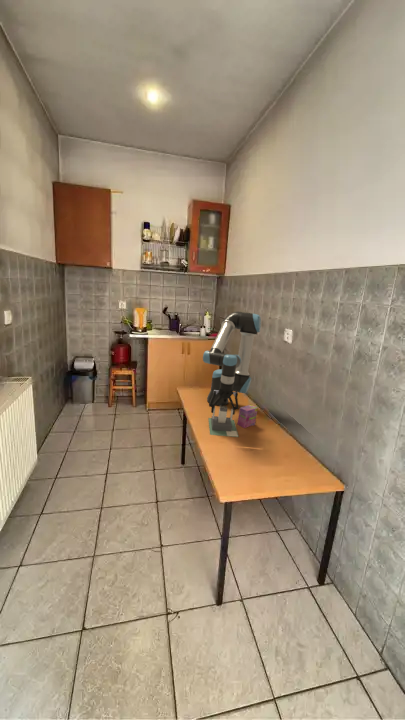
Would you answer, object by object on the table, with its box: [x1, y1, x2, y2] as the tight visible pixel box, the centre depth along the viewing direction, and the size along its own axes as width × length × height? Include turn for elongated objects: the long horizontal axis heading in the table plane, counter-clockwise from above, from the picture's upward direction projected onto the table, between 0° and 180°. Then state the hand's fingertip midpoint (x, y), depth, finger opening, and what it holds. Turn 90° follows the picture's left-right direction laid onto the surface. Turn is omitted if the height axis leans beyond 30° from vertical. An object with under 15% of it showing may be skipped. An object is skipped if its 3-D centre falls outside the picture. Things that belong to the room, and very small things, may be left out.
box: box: [237, 404, 259, 429], centre depth 179 cm, size 10×6×12 cm, turn 131°
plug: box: [217, 405, 228, 423], centre depth 172 cm, size 4×4×12 cm
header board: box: [208, 415, 240, 438], centre depth 173 cm, size 21×16×4 cm
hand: (222, 418), depth 172 cm, fingers open, 10 cm apart
